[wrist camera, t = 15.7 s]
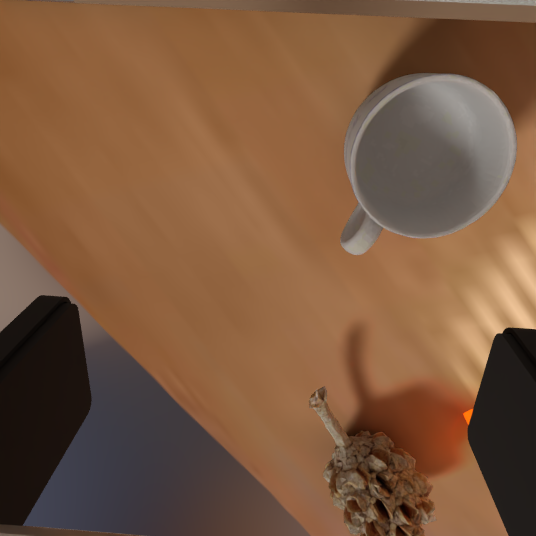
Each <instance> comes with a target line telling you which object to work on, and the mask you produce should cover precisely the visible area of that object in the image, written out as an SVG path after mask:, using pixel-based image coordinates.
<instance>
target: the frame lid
mask: <svg viewBox="0 0 536 536" xmlns="http://www.w3.org/2000/svg"><path fill="white" fill-rule="evenodd" d="M74 3H89V4H112V5H136V6H159V7H182V8H206V9H229V10H252V11H276V12H299V13H322V14H346V15H369V16H392V17H416V18H439V19H462V20H486V21H509V22H532V23H536V0H74Z"/></svg>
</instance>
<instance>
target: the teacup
mask: <svg viewBox="0 0 536 536" xmlns="http://www.w3.org/2000/svg"><path fill="white" fill-rule="evenodd" d="M516 151H517V137H516V132H515V128H514V124H513V120H512V118H511V116H510V114H509V112H508V110H507V108H506V106H505V105H504V103H503V102H502V100H501V99H500V98H499V97H498V96H497V94H496V93H495V92H494V91H492V90H491V89H490V88H488V87H487V86H485V85H484V84H482V83H480V82H478V81H477V80H474V79H472V78H469V77H466V76H462V75H457V74H437V73H416V74H409V75H405V76H402V77H399V78H396V79H394V80H391V81H389V82H387V83H385V84H384V85H382V86H381V87H379V88H378V89H376V90H375V91H374V92H373V93H371V94H370V95H369V96H368V97H367V98H366V99H365V100H364V101H363V103H362V104H361V105H360V106H359V108H358V109H357V111H356V112H355V114H354V116H353V118H352V120H351V122H350V124H349V127H348V130H347V133H346V138H345V143H344V159H345V166H346V170H347V174H348V177H349V180H350V182H351V184H352V188H353V191H354V194H355V196H356V198H357V200H358V202H359V203H358V205H357V206H356V208H355V210H354V211H353V213H352V215H351V217H350V218H349V220H348V222H347V224H346V226H345V228H344V230H343V232H342V235H341V245H342V247H343V248H344V249H345V250H346V251H347V252H349V253H351V254H353V255H360V254H363V253H365V252H366V251H367V250H368V249H369V248H370V247H371V246H372V245H373V244H374V243H375V241H376V240H377V238H378V237H379V235H380V233H381V231H382V229H383V228H385V229H387V230H389V231H391V232H393V233H396V234H399V235H403V236H406V237H411V238H435V237H440V236H444V235H448V234H451V233H454V232H456V231H459V230H461V229H463V228H464V227H466V226H468V225H470V224H471V223H473V222H475V221H476V220H478V219H479V218H480V217H481V216H483V215H484V214H485V213H486V212H487V211H488V210H489V209H490V208H491V207H492V206H493V205H494V204H495V203H496V201H497V200H498V199H499V197H500V196H501V194H502V193H503V191H504V189H505V188H506V186H507V184H508V182H509V179H510V177H511V174H512V171H513V168H514V164H515V161H516Z"/></svg>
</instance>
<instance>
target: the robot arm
mask: <svg viewBox="0 0 536 536" xmlns="http://www.w3.org/2000/svg"><path fill="white" fill-rule="evenodd" d="M90 406H91V391H90V385H89V378H88V372H87V364H86V358H85V351H84V344H83V338H82V331H81V324H80V318H79V311H78V307H77V305H75V304H71V302H70V300H69V298H67V297H58V296H45V295H42V296H39V297H37V298H36V299H35V300H34V301H33V302H32V303H31V304H30V305H29V306H28V307H27V308H26V309H25V310H24V311H22V312H21V314H19V315H18V316H17V317H16V318H15V319H14V320H13V321H12V322H11V323H10V324H9V325H8V326H7V327H5V328H4V329H3V330H2V331H1V332H0V536H142V535H130V534H117V533H106V532H94V531H82V530H70V529H58V528H46V527H32V526H23V524H24V522H25V520H26V519H27V517H28V515H29V514H30V512H31V510H32V508H33V507H34V505H35V503H36V502H37V500H38V498H39V497H40V495H41V493H42V491H43V490H44V488H45V486H46V485H47V483H48V481H49V479H50V478H51V476H52V474H53V472H54V471H55V469H56V467H57V466H58V464H59V462H60V460H61V459H62V457H63V456H64V454H65V452H66V450H67V448H68V447H69V445H70V444H71V442H72V440H73V438H74V437H75V435H76V433H77V432H78V430H79V428H80V426H81V425H82V423H83V421H84V420H85V418H86V416H87V415H88V412H89V410H90ZM468 440H469V444H470V446H471V449H472V451H473V453H474V456H475V458H476V460H477V463H478V465H479V467H480V470H481V472H482V474H483V477H484V479H485V481H486V484H487V486H488V488H489V491H490V493H491V495H492V498H493V500H494V502H495V505H496V507H497V509H498V512H499V514H500V516H501V519H502V521H503V524H504V526H505V528H506V531H507V533H508V535H509V536H536V330H535V329H523V328H506V329H505V330H504V331H503V333H502V334H500V333H498V334H497V335H496V336H495V338H494V340H493V344H492V347H491V350H490V354H489V357H488V361H487V364H486V367H485V371H484V374H483V378H482V381H481V384H480V388H479V391H478V395H477V398H476V401H475V405H474V408H473V412H472V415H471V418H470V422H469V425H468Z"/></svg>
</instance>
